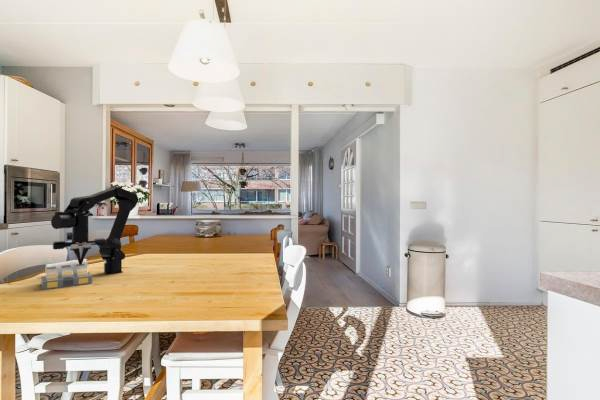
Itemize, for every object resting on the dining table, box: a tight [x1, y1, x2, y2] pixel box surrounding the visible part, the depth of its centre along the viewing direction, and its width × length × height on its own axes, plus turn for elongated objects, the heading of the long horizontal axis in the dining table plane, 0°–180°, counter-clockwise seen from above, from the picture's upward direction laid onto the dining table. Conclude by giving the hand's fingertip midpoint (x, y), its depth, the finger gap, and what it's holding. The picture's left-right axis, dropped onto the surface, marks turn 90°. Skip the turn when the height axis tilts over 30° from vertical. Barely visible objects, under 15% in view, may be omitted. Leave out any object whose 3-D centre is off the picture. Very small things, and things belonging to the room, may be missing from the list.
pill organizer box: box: [40, 271, 93, 291], centre depth 136 cm, size 16×12×3 cm
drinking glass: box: [45, 258, 89, 274], centre depth 151 cm, size 7×7×15 cm
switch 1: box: [44, 266, 58, 280], centre depth 133 cm, size 4×9×1 cm, turn 39°
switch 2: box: [60, 265, 73, 278], centre depth 136 cm, size 4×9×1 cm, turn 39°
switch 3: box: [75, 264, 89, 276], centre depth 139 cm, size 4×9×1 cm, turn 39°
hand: (80, 264), depth 142 cm, fingers closed
